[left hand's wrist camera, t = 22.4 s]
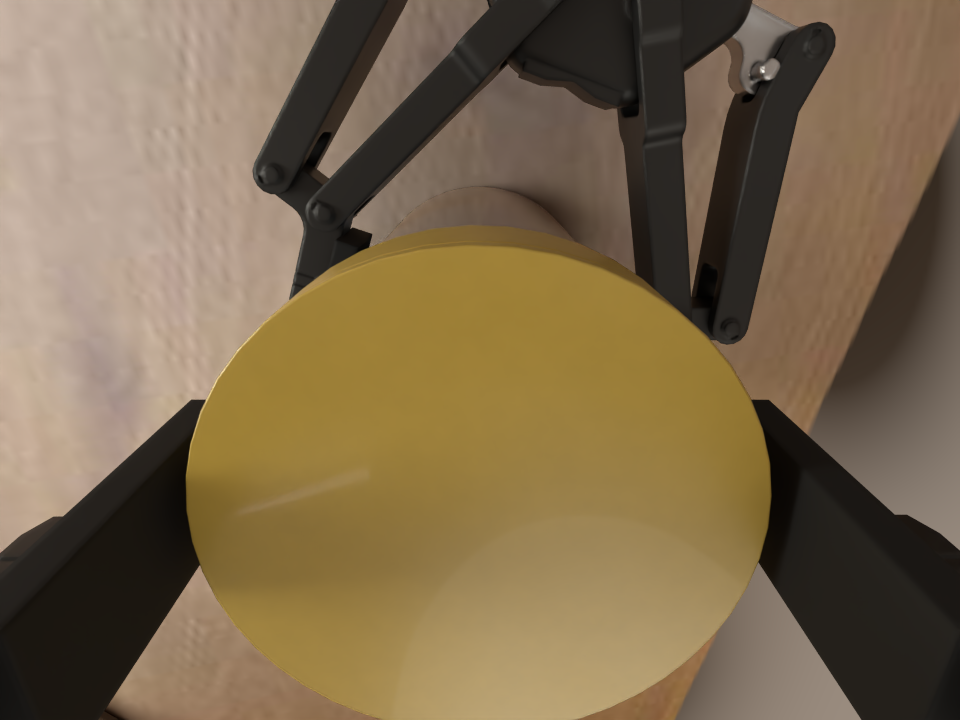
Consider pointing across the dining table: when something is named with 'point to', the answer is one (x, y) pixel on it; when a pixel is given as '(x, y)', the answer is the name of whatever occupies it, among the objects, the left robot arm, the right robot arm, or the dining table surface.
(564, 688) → the lid
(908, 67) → the dining table surface
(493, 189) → the jar
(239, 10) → the dining table surface
